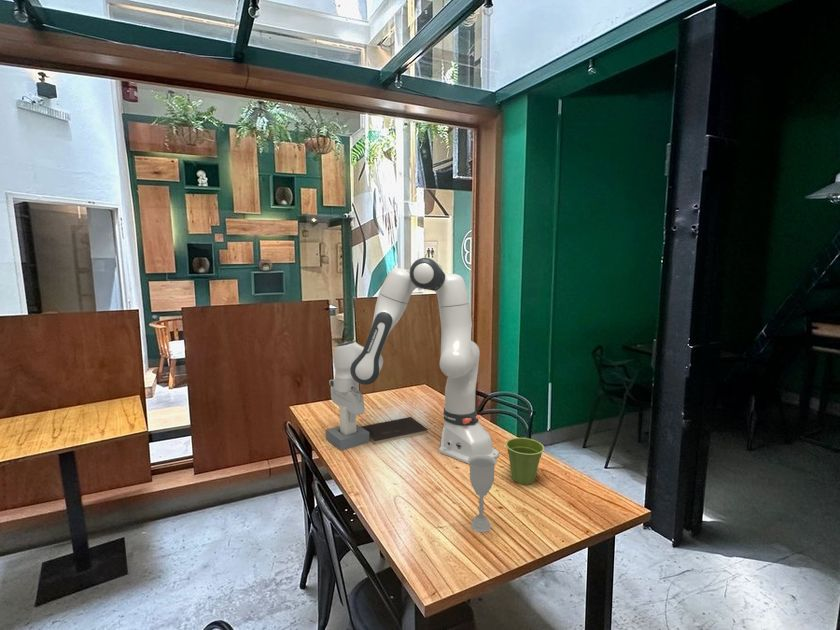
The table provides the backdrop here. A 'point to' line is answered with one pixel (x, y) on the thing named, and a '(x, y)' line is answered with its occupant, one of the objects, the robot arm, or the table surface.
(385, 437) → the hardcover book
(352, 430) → the cream block
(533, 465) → the plant pot
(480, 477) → the chalice
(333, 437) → the holder
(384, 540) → the table surface
